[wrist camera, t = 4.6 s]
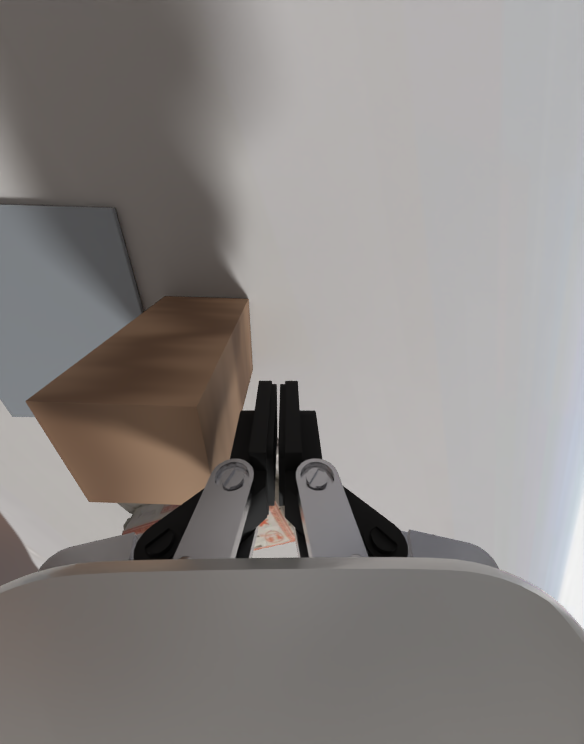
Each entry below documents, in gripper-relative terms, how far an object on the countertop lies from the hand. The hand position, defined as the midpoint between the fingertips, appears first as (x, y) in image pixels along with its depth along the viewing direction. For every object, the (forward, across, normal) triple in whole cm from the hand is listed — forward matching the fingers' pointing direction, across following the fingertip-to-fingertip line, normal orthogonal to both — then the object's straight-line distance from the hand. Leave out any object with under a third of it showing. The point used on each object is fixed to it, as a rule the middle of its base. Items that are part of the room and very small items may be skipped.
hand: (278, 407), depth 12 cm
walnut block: (+7, +4, 0) cm, 8 cm away
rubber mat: (+7, +14, 0) cm, 16 cm away
